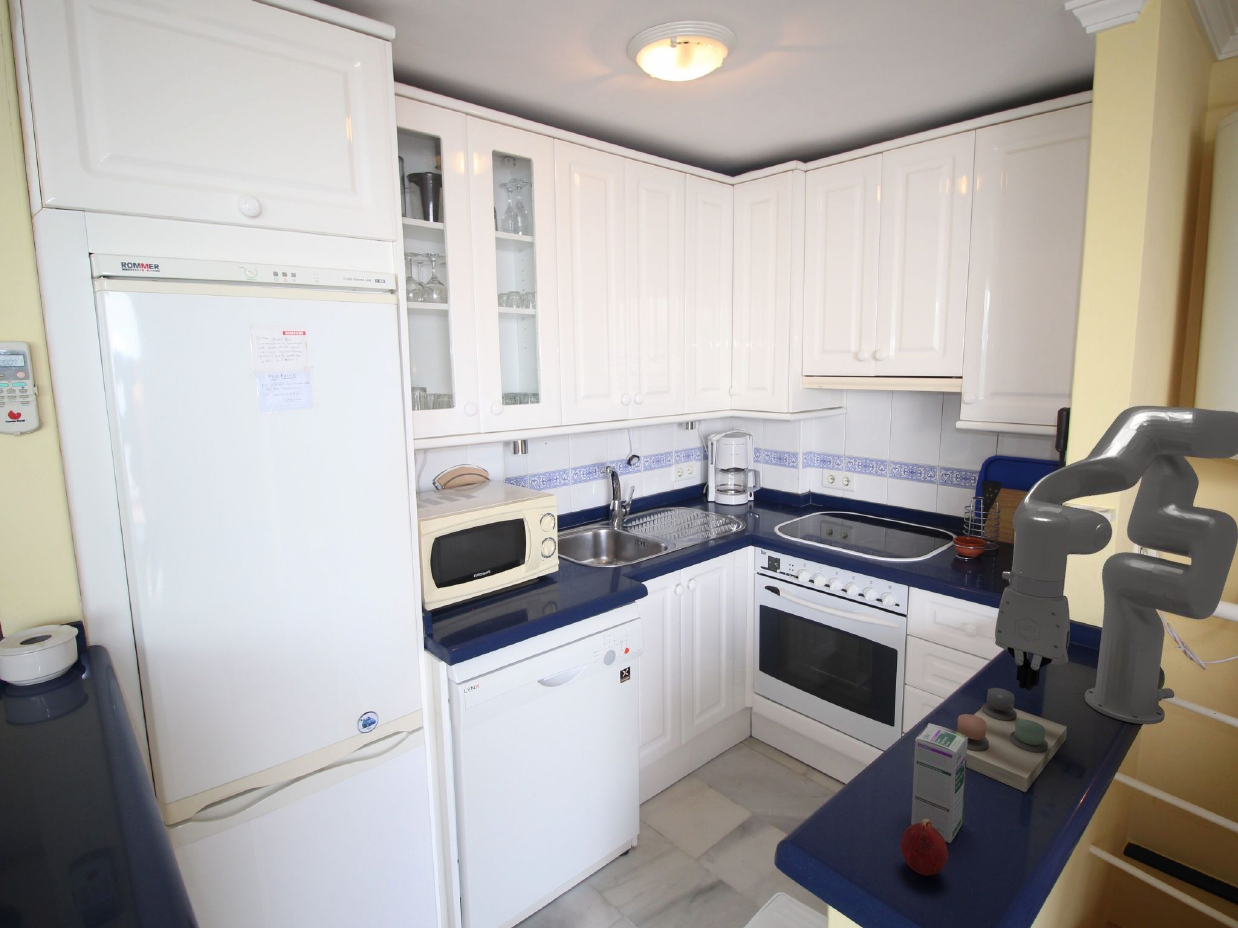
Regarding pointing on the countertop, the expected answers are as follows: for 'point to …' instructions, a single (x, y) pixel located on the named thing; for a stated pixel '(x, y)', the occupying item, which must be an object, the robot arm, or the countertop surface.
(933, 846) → the onion
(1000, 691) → the charcoal button
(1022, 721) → the green button
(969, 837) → the countertop surface
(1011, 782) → the button panel
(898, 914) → the countertop surface
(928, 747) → the syrup box
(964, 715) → the terracotta button
